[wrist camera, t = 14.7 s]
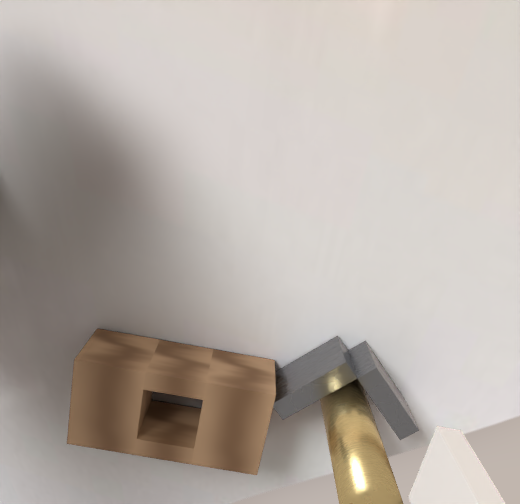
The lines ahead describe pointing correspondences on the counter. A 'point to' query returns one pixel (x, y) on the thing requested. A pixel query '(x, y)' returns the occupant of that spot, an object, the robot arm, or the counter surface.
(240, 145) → the counter surface
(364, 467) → the axle
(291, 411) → the v block
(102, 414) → the wooden block with hole
